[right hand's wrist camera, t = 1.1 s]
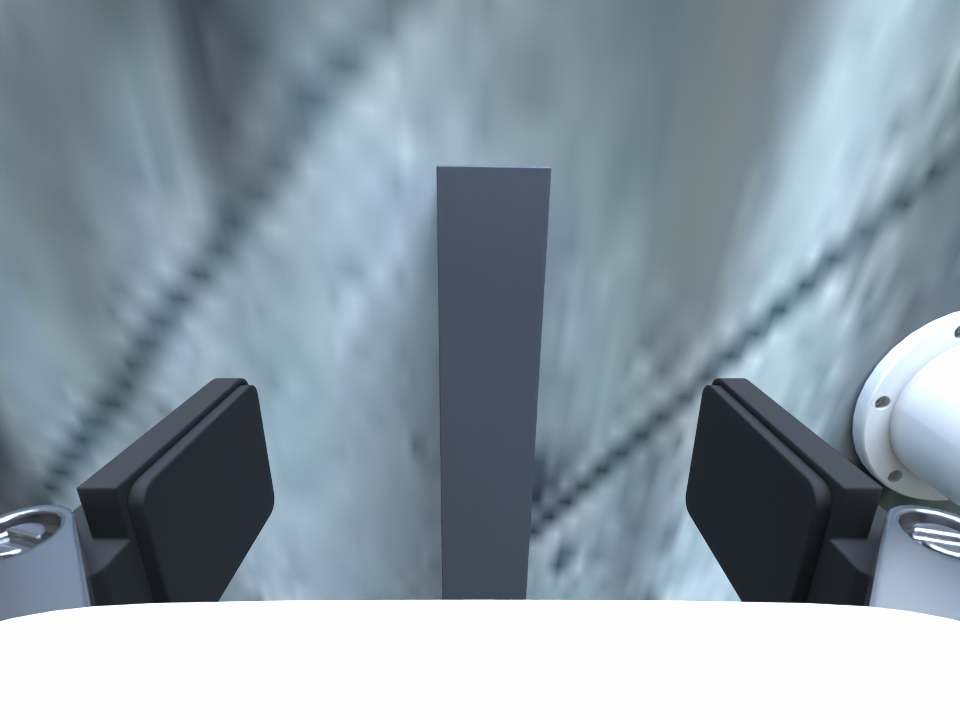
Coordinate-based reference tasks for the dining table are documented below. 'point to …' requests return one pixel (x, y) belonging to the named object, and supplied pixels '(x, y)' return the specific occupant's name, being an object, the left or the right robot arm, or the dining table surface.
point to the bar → (489, 371)
